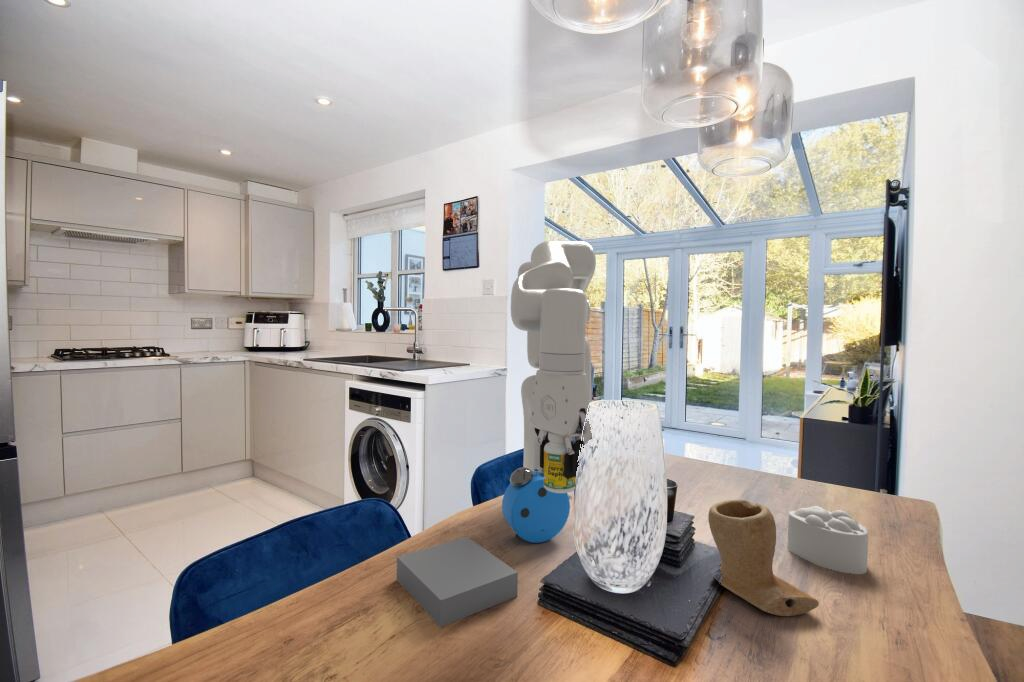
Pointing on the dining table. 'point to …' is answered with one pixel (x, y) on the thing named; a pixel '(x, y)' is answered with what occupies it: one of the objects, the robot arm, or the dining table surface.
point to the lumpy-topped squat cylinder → (828, 539)
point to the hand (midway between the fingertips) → (559, 470)
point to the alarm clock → (534, 506)
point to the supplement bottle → (556, 466)
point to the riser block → (456, 579)
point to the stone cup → (753, 558)
